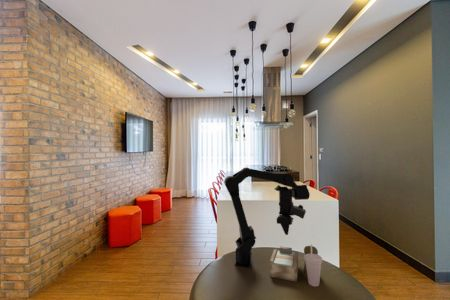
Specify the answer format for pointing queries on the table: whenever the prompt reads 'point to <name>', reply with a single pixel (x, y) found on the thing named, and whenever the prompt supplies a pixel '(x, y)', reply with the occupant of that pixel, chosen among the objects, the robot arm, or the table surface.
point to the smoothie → (313, 268)
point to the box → (284, 268)
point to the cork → (308, 251)
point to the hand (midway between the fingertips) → (286, 234)
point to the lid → (284, 257)
